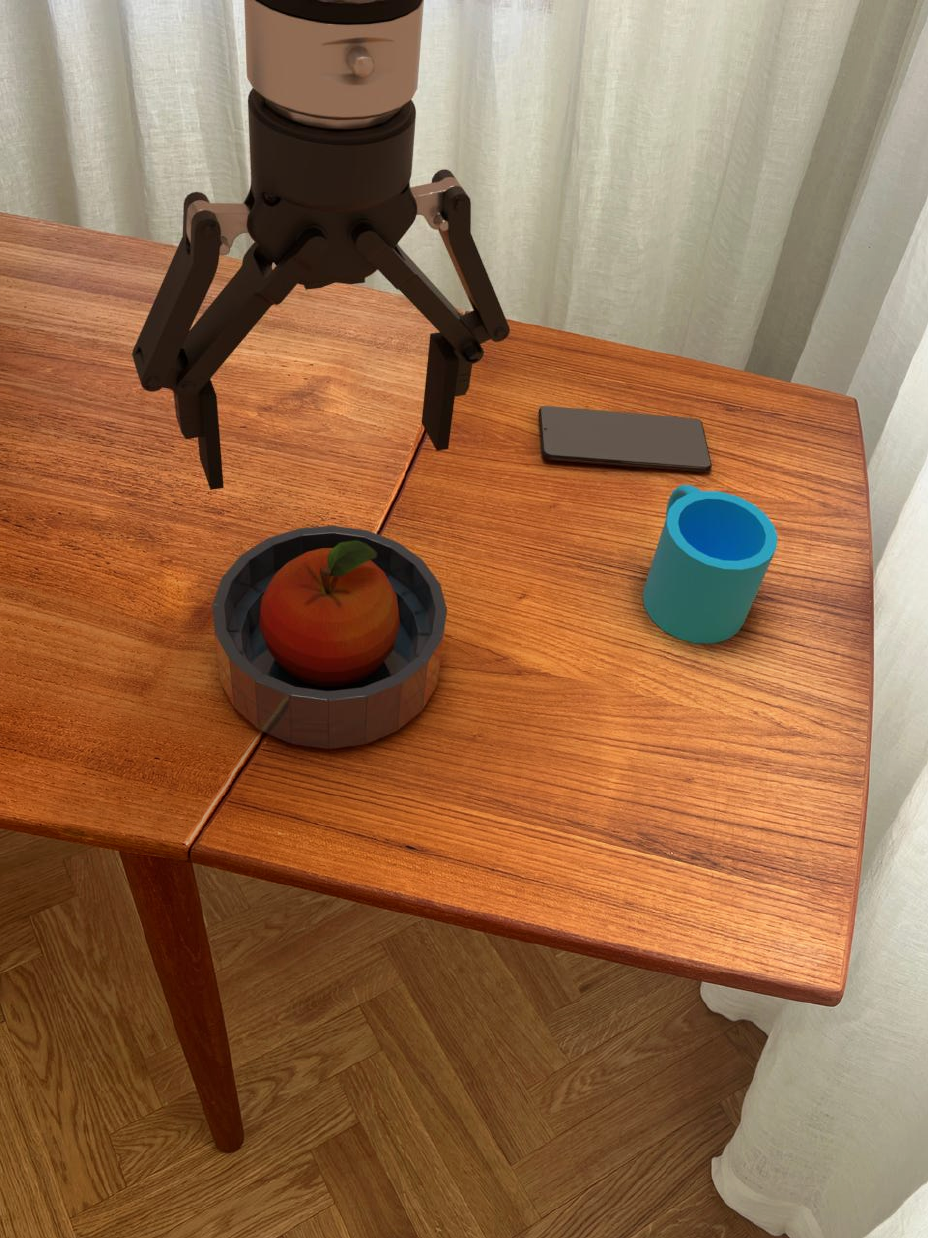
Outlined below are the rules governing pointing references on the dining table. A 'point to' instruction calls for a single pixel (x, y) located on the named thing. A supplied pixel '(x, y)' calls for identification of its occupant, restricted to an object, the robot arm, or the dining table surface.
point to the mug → (708, 565)
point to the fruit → (330, 615)
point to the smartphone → (623, 439)
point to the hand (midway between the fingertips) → (326, 454)
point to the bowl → (330, 709)
